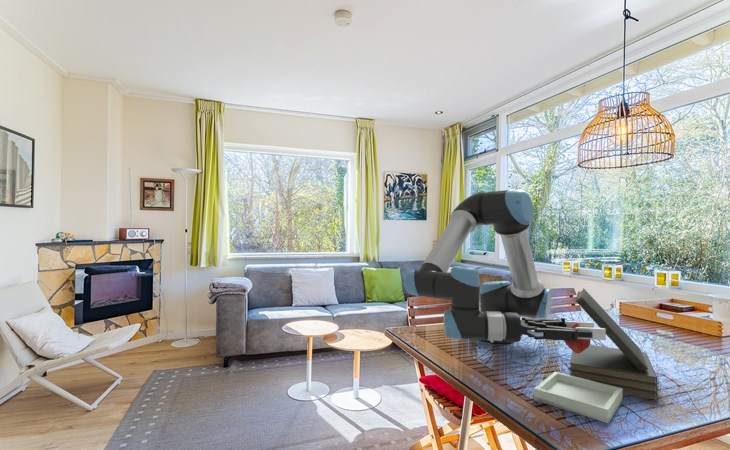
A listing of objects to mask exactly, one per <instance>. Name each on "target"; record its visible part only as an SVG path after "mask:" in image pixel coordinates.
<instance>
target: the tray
mask: <svg viewBox="0 0 730 450" xmlns="http://www.w3.org/2000/svg"><path fill="white" fill-rule="evenodd" d="M533 400H534V401H535V402H538V403H542V404H546V405H549V406H552V407H555V408H557V409H562V410H564V411H567V412H571V413H573V414H577V415H580V416H582V417H583V416H584V417H586V418H589V419H593V420H597V421H600V422H603V423H606V424H609V423H610V421H611V420H612V418H613V417H614V415H615V414H616V412H617V410H618V409H619V407H620V406H621V404H622V403H623V400H624V393H623V388H619V387H615V386H611V385H607V384H603V383H599V382H595V381H591V380H587V379H583V378H579V377H575V376H571V375H570V374H568V373H562V372H559V371H554V372H553V373H551V374H550V375H548V377H546V378H545V379H543V380H542V381H541V382H540V383H538V384H537V385H536V386H535V387H534V388H533Z"/></svg>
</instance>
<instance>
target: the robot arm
mask: <svg viewBox="0 0 730 450" xmlns="http://www.w3.org/2000/svg"><path fill="white" fill-rule="evenodd" d="M534 215H535V212H534V204H533V200H532V198H531V196H530V194H529V193H528V192H527V191H526V190H524V189H513V188H511V189H506V190H496V191H495V190H494V191H482V192H481V191H480V192H477V193H474V194H472V195H470V196H468V197H466V198H465V199H464V200H462V201H461V202H460V203H459V204H458V205H457V206H456V207H455V208H454V209H453V211H452V212H451V214H450V216H449V222H448V224H447V225H446V227H445V228H444V230H443V231H442V233H441V234H440V236H439V238H438V239H437V241H436V242H435V244H434V246H433V247H432V249H431V250H430V252H429V253H428V255H427V257H426V258H425V260H424V261H423V263H422V264H421V266H420V267H419V269H413V270H409V271H407V273H406V274H405V276H404V280H403V286H404V289H405V291H406V292H407V293H408V294H409V295H412V296H416V297H420V298H421V297H423V298H424V297H425V298H432V299H439V300H448V301H450V309H446V310H444V312H443V334H444V336H445V337H446V338H448V339H456V340H461V341H463V340H467V341H469V340H473V341H483V342H487V343H492V344H511V343H520V341H521V339H522V336H523V335H524V336H527V337H528V338H533V339H534V340H536V341H537V340H539V341H540V340H548V341H549V340H551V341H552V340H553V341H564V342H565V341H575V342H578V339H590V340H596V341H607V340H606V339H607V335H606V329H605V328H600V327H595V322H594V321H575V320H573V321H571V320H570V321H569V320H568V321H567V320H566V318H565V317H561V318H560V319H559V318H548V316H549V314H550V310H551V306H552V298H553V297H552V290H551V289H550V288H548V287H545V286H544V282H543V281H542V280H541V279H540V278H538V275H537V269H536V266H535V262H534V257H533V251H532V248H531V244H530V239H529V234H528V229H529V227H530V225H531V223H532V222H533V221H534V217H535V216H534ZM479 226H493V228H494V232H495V233H496V234H498V235H499V236H500V238H501V242H502V245H503V249H504V252H505V257H506V260H507V264H508V268H509V272H510V276H511V279H512V283H511V281H509V280H495V281H485V282H483V283H482V284H481V282H480V272H479V269H478V268H477V267H474V266H462V265H461V266H459V265H458V266H452V264H453V262H454V260H455V259H456V257H457V255H458V253H459V251H460V249H461V248H462V246H463V245H464V243H465V241H466V239H467V237H468V236H469V234H470V233H472V232H474V231H475V230H476V228H477V227H479ZM451 266H452V267H451ZM450 267H451V269H450ZM449 270H450V272H448V271H449ZM576 322H578V323H579V325H580V326H581V327H576V328H569V327H571V326H573V325H574V324H575V323H576Z"/></svg>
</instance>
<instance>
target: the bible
mask: <svg viewBox="0 0 730 450" xmlns="http://www.w3.org/2000/svg"><path fill="white" fill-rule="evenodd" d="M575 302H576V303H577V304H578V305H579V306H580V308H581V309H582V310H583V311H584V312H585V313H586V314H587V315H588V316H589V317H590V318H591V319H592V321H593V323H594V324H596V325H597V326H598V328H605V329H606V337H608V338H609V339H610V340H611V341H612V342H613V344H614V345H615V346H616V347H611V346H610V347H609V346H601V345H595V344H590V345H589V347H588V348H587V349H585V350H584V351H582V352H581V353H579V354H577V353H575V352H574V351H573V350H571V356H570V360H569V364H570V368H569V371H570V374H569V375H571V376H575V377H579V378H583V379H587V380H591V381H595V382H599V383H603V384H607V385H611V386H615V387H619V388H623V395H624V394H625V395H629V396H634V397H639V398H646V399H650V400H655V401H659V394H658V393H659V389H658V383H659V382H658V376H657V374H656V372H655V369H654V367H653V365H652V362H651V360H650V358H649V355H648V353H647V352H645V351H642V349H641V348H640V347H639V346H638V345H637V344H636V342H635V341H634V340H633V339H632V338H631V337H630V336H629V335H628V334H627V333H626V332H625V330H624V329H622V328H621V326H620V325H619V324H618V323H617V322H616V321H615V320H614V319H613V318H612V317H611V316H610V315H609V314H608V312H607V311H606V310H605V309H604V308H603V307H602V306H601V305H600V304H599V303H598V302H597V301H596V299H594V297H593V296H592V295H591V294H590V293H589V292H588V291H587V290H586V289H585V288H584V287H583V288H582V290H581V291H577V295H576V298H575Z"/></svg>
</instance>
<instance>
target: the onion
mask: <svg viewBox="0 0 730 450" xmlns="http://www.w3.org/2000/svg"><path fill="white" fill-rule="evenodd" d="M578 322H579V321H576V323H575V324H574V325H573V326H571V327H569V328H576V327H581V326H580V325H579V323H578ZM564 343H565V345H566V346H567V347H568V348H569V349H570V350H571V351H572V350H573V351H574V352H575V353H577V354H579V353H581V352H582V351H584V350H585V349H587V348H588V347H589V345H591V339H578V342H575V341H564Z"/></svg>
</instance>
